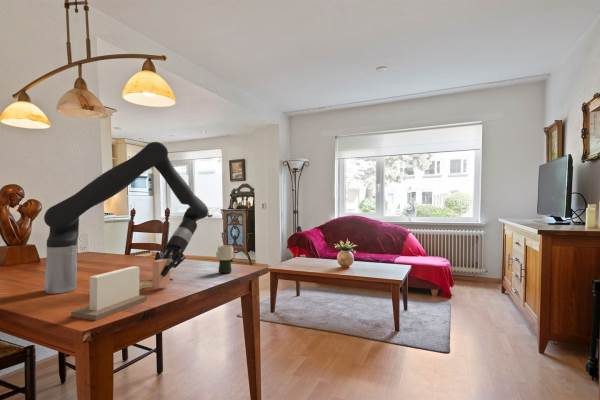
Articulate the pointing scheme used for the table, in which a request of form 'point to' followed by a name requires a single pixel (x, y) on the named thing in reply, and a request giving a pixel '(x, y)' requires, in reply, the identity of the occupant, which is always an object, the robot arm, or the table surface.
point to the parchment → (145, 283)
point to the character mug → (225, 258)
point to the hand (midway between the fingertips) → (158, 275)
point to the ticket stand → (111, 294)
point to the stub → (157, 269)
